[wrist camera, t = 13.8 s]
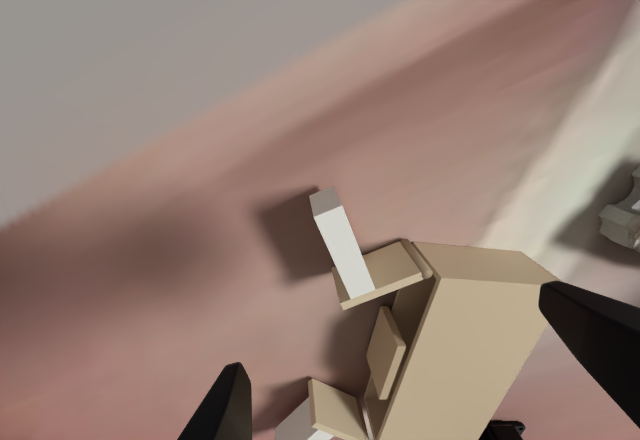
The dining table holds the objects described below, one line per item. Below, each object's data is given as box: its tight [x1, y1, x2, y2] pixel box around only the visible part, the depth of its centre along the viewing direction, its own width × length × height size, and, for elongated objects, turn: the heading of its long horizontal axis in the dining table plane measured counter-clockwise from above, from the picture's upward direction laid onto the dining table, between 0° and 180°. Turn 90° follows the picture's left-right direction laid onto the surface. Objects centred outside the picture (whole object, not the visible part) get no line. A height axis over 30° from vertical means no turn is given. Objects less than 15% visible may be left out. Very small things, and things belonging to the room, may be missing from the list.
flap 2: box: [309, 186, 433, 310], centre depth 19 cm, size 6×7×4 cm
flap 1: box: [274, 378, 369, 440], centre depth 27 cm, size 6×7×4 cm
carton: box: [363, 242, 562, 440], centre depth 24 cm, size 17×10×4 cm, turn 171°
